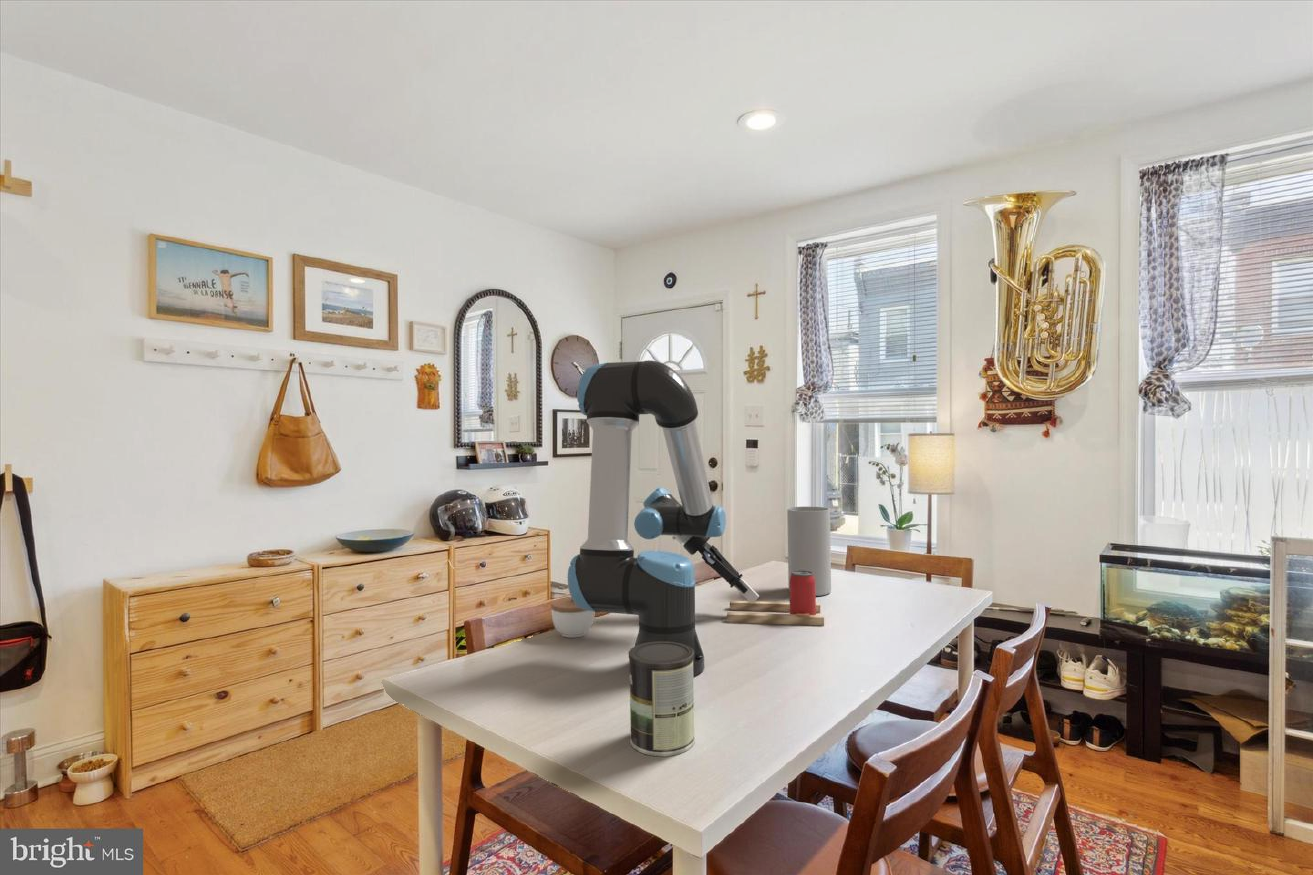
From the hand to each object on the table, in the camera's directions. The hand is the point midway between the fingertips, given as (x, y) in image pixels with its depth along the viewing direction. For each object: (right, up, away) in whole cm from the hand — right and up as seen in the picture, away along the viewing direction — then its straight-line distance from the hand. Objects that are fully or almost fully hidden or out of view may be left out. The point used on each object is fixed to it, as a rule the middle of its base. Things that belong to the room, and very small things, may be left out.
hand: (755, 599), depth 168 cm
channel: (+5, -4, -1) cm, 7 cm away
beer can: (+12, -4, -3) cm, 13 cm away
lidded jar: (-46, -5, -13) cm, 48 cm away
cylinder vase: (+20, -4, +24) cm, 32 cm away
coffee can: (-25, -5, -68) cm, 72 cm away
